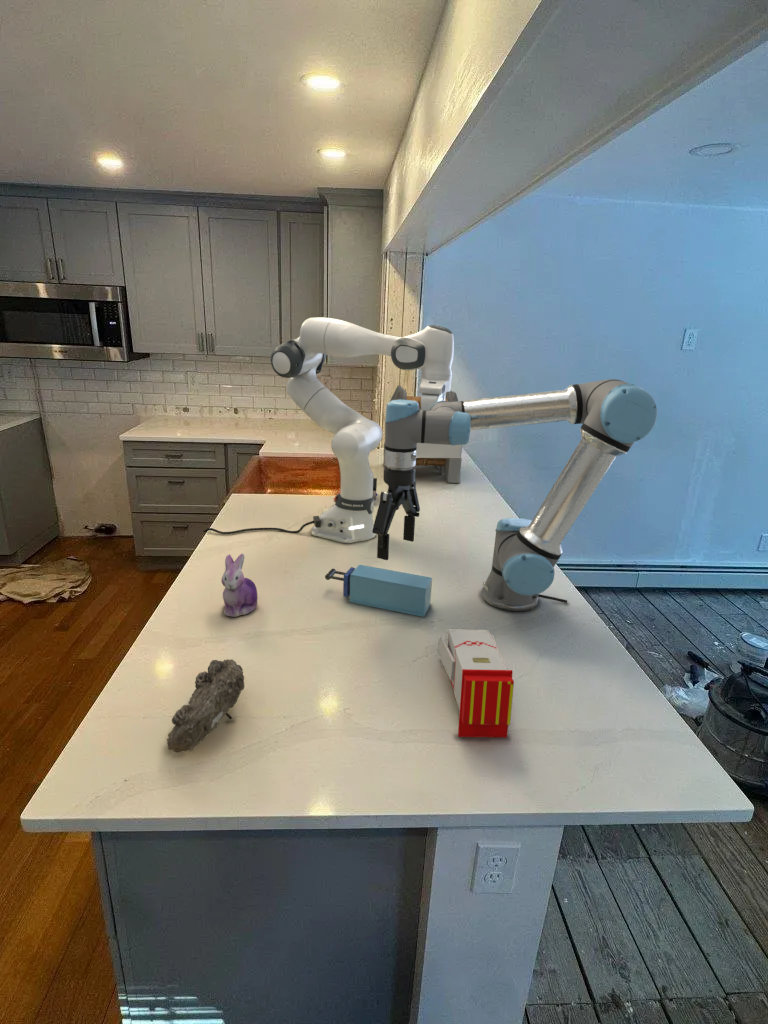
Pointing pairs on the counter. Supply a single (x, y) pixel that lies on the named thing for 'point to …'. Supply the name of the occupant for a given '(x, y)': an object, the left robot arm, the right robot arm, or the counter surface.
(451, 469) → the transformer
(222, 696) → the fossil
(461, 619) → the counter surface
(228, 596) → the figurine
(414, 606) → the light-blue storage box
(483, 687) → the toy
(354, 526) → the left robot arm
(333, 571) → the drawer
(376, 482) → the figurine character
